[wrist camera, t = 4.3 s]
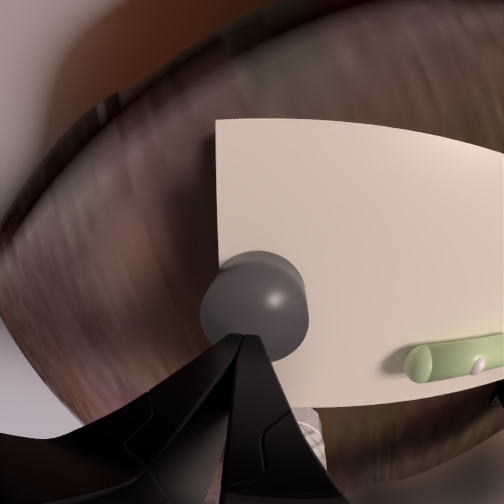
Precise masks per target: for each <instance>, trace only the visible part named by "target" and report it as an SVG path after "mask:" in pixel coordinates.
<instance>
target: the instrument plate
mask: <svg viewBox="0 0 504 504" xmlns="http://www.w3.org/2000/svg"><path fill="white" fill-rule="evenodd" d="M216 186H217V222H218V249H219V271H218V273H217V274H216V276H215V278H214V280H213V281H212V283H211V285H210V287H209V289H208V290H207V292H206V294H205V296H204V298H203V300H202V303H201V306H200V323H201V327H202V330H203V332H204V334H205V336H206V337H207V339H208V340H209V342H210V343H211V344H212V345H214V344H215V343H217V342H218V341H220V340H221V339H222V338H224V337H225V336H226V335H228V334H229V333H240V334H244V336H245V335H246V334H253V335H259V336H260V337H261V340H262V342H263V344H264V347H265V349H266V352H267V354H268V356H269V359H270V361H271V363H272V366H273V368H274V370H275V373H276V375H277V377H278V380H279V382H280V384H281V386H282V389H283V391H284V393H285V396H286V398H287V400H288V402H289V405H290V407H344V406H361V405H373V404H383V403H392V402H400V401H407V400H414V399H421V398H427V397H432V396H437V395H443V394H447V393H452V392H457V391H461V390H465V389H469V388H473V387H477V386H481V385H485V384H488V383H492V382H495V381H498V380H501V379H504V154H502V153H499V152H496V151H493V150H489V149H486V148H483V147H479V146H476V145H472V144H468V143H464V142H460V141H456V140H452V139H448V138H444V137H439V136H435V135H430V134H425V133H420V132H414V131H409V130H403V129H397V128H390V127H383V126H376V125H368V124H359V123H350V122H338V121H325V120H308V119H228V120H216Z"/></svg>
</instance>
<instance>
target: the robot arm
mask: <svg viewBox="0 0 504 504" xmlns="http://www.w3.org/2000/svg"><path fill="white" fill-rule="evenodd" d="M498 403H501V405H502V406H503V408H504V379H503V380H502V382H501V384H500V385H499V387H498V389H497V391H496V392H495V394H494V396H493V397H492V399H491V400H490V404H491V405H495V404H498ZM225 442H226V443H225ZM224 445H225V452H224V461H223V470H222V479H221V489H220V496H219V503H218V504H353V503H352V502H351V501H350V500H349V499H348V498H347V497H346V496H345V494H344V493H343V492H342V490H341V489H340V488H339V486H338V485H337V484H336V482H335V481H334V480H333V478H332V477H331V475H330V474H329V473H328V471H327V470H326V468H325V467H324V466H323V464H322V463H321V461H320V460H319V458H318V457H317V456H316V454H315V453H314V451H313V449H312V448H311V446H310V445H309V443H308V441H307V440H306V438H305V436H304V434H303V432H302V430H301V428H300V426H299V424H298V422H297V420H296V418H295V416H294V413H293V412H292V409H291V407H290V405H289V402H288V400H287V398H286V396H285V393H284V391H283V389H282V386H281V384H280V382H279V380H278V377H277V375H276V373H275V370H274V368H273V366H272V363H271V361H270V359H269V356H268V354H267V352H266V349H265V347H264V344H263V342H262V340H261V337H260V336H259V335H253V334H246V335H245V336H244V334H240V333H229V334H228V335H226V336H225V337H224V338H222V339H221V340H220V341H218V342H217V343H215V344H214V345H213V346H211V347H210V348H209V349H207V350H206V351H204V352H203V353H202V354H200V355H199V356H198V357H196V358H195V359H193V360H192V361H191V362H189V363H188V364H186V365H185V366H183V367H182V368H181V369H179V370H178V371H176V372H175V373H173V374H172V375H171V376H169V377H168V378H166V379H165V380H163V381H162V382H160V383H159V384H157V385H156V386H154V387H153V388H151V389H150V390H149V392H145V393H144V394H142V395H141V396H139V397H138V398H136V399H135V400H133V401H131V402H130V403H128V404H126V405H125V406H123V407H121V408H120V409H118V410H116V411H114V412H112V413H110V414H108V415H106V416H104V417H102V418H100V419H98V420H96V421H94V422H92V423H90V424H87V425H85V426H83V427H81V428H79V429H77V430H74V431H72V432H70V433H68V434H65V435H62V436H60V437H56V438H50V439H34V438H27V437H20V436H15V435H9V434H4V433H0V504H204V501H205V498H206V496H207V493H208V490H209V487H210V485H211V482H212V479H213V476H214V474H215V471H216V468H217V465H218V462H219V459H220V457H221V454H222V451H223V448H224Z"/></svg>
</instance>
